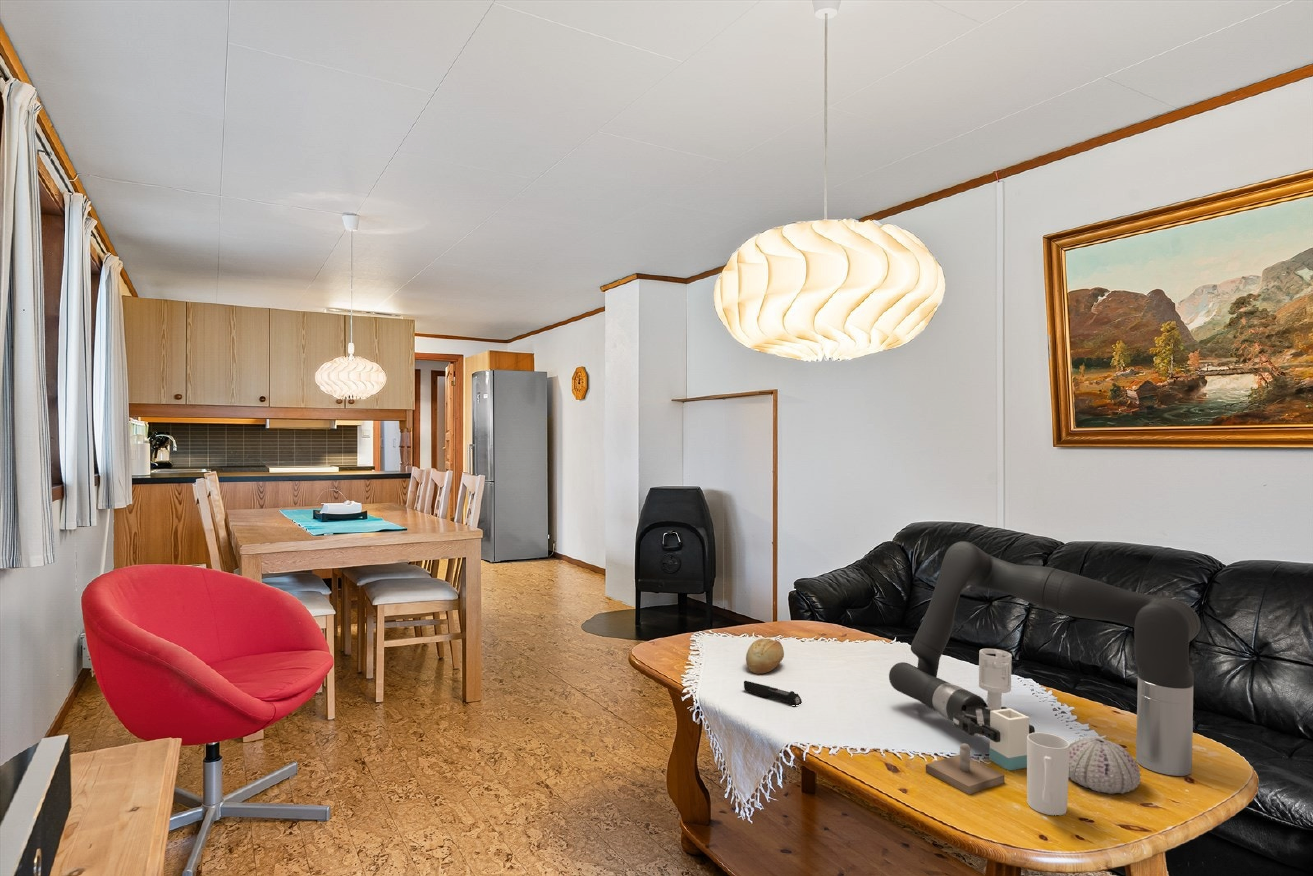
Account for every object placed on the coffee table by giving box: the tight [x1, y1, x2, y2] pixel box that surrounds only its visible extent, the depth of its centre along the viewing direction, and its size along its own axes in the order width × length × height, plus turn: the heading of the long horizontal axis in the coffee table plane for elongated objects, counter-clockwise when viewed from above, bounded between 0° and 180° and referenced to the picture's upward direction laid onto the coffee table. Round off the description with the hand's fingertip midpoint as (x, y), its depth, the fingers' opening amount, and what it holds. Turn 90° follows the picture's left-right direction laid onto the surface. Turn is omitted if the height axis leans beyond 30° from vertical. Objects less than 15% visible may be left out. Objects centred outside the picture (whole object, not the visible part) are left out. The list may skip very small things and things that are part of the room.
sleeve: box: [988, 707, 1030, 771], centre depth 150 cm, size 5×5×10 cm
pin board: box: [925, 742, 1006, 795], centre depth 144 cm, size 10×10×6 cm
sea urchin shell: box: [1068, 736, 1142, 795], centre depth 143 cm, size 13×14×8 cm
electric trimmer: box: [743, 680, 803, 707], centre depth 185 cm, size 4×16×3 cm, turn 50°
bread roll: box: [745, 638, 785, 675], centre depth 208 cm, size 10×15×8 cm, turn 154°
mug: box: [1026, 732, 1071, 817], centre depth 132 cm, size 10×7×12 cm, turn 152°
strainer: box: [978, 648, 1013, 710], centre depth 178 cm, size 7×7×15 cm
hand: (1016, 735), depth 148 cm, fingers open, 8 cm apart
